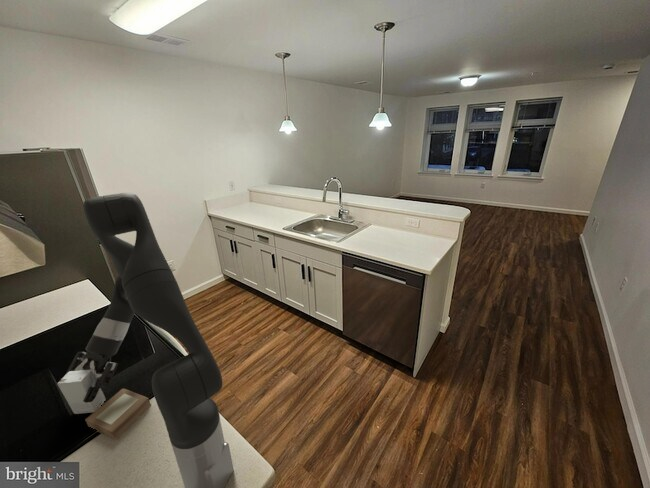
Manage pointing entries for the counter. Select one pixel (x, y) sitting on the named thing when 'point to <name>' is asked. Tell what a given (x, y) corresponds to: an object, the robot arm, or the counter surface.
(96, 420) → the walnut plinth
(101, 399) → the skincare box
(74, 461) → the counter surface
